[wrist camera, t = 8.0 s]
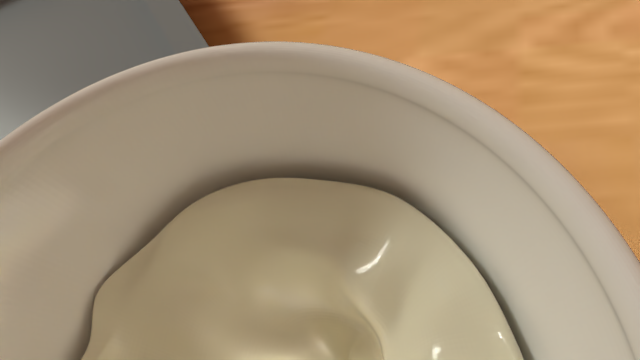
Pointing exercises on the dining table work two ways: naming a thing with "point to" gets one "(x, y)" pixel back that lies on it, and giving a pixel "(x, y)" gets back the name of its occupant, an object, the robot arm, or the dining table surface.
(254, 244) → the candle holder
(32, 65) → the tray
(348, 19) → the dining table surface
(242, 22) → the dining table surface
